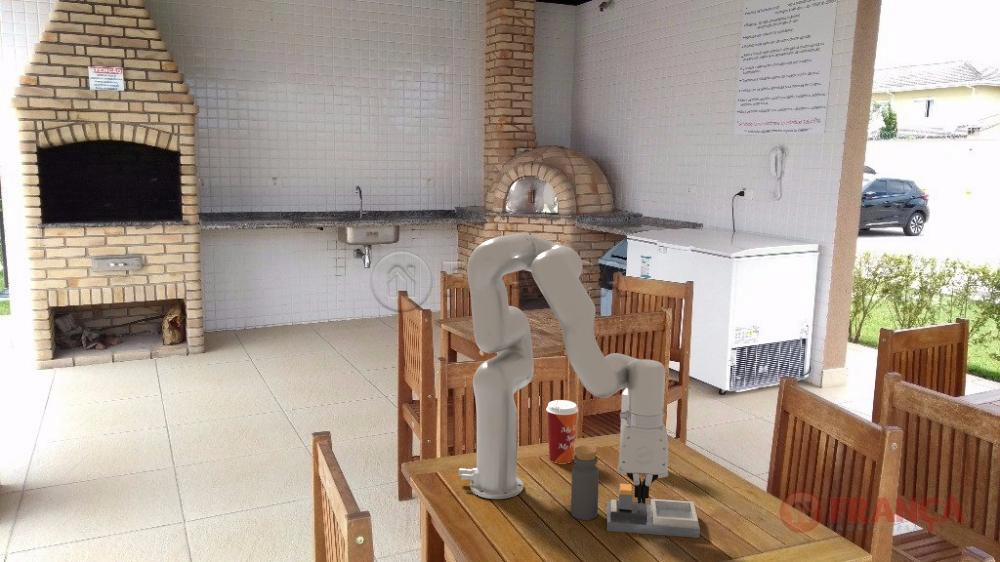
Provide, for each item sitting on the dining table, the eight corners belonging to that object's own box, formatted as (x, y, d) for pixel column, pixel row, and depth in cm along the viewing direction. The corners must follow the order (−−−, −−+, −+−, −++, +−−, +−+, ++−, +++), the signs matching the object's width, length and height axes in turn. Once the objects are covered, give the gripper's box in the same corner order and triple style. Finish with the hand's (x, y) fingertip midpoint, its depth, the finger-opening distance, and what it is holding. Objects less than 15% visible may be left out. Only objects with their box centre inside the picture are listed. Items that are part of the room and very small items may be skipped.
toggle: (618, 508, 164) (619, 490, 163) (618, 501, 167) (619, 483, 167) (631, 509, 164) (632, 491, 163) (631, 502, 167) (632, 484, 166)
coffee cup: (568, 468, 194) (569, 411, 191) (539, 461, 198) (540, 405, 196) (582, 457, 201) (584, 402, 198) (554, 451, 205) (555, 397, 203)
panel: (606, 530, 162) (607, 515, 161) (607, 509, 171) (607, 494, 171) (699, 537, 159) (700, 522, 158) (694, 515, 169) (695, 500, 168)
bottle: (596, 521, 166) (598, 455, 163) (569, 518, 167) (571, 453, 165) (598, 509, 171) (600, 445, 169) (572, 507, 173) (574, 443, 170)
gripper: (608, 422, 159) (606, 506, 162) (682, 427, 157) (678, 511, 160) (608, 411, 167) (606, 490, 170) (679, 414, 165) (675, 495, 167)
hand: (641, 500), depth 165 cm, fingers closed
